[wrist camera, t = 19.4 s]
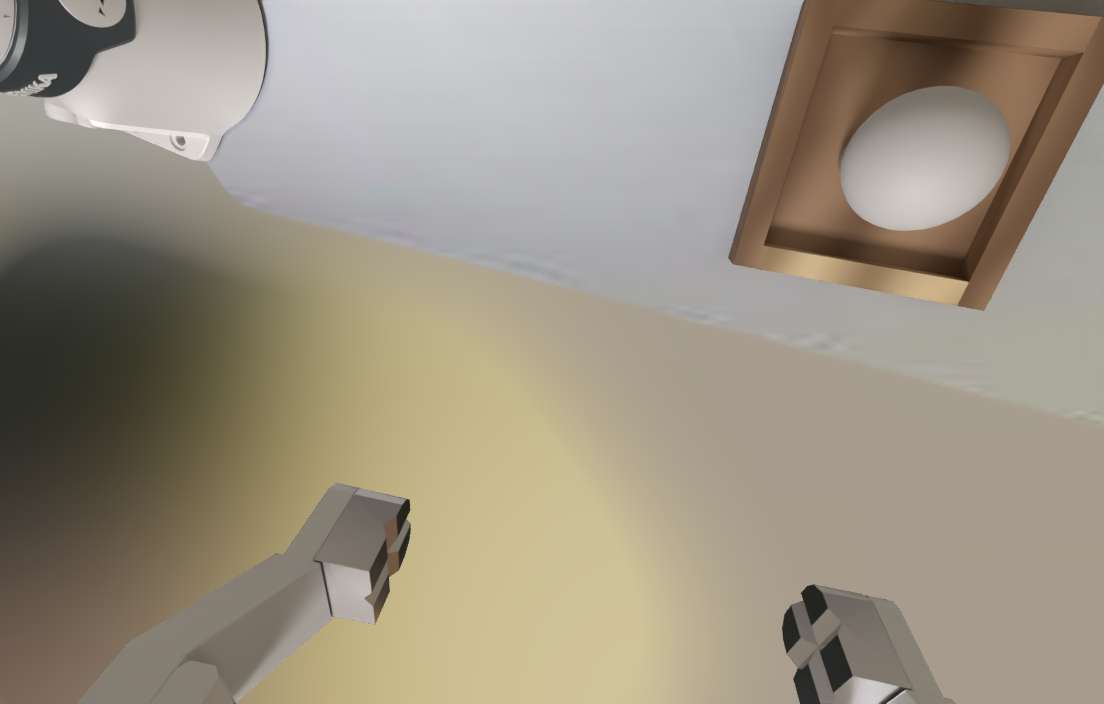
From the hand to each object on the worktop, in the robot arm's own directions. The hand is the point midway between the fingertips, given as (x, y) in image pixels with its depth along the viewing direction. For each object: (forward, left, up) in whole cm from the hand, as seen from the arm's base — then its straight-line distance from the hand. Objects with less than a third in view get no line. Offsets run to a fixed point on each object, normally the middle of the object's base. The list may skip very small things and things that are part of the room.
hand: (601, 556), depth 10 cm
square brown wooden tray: (+13, +10, -28) cm, 32 cm away
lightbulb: (+11, +10, -27) cm, 31 cm away
